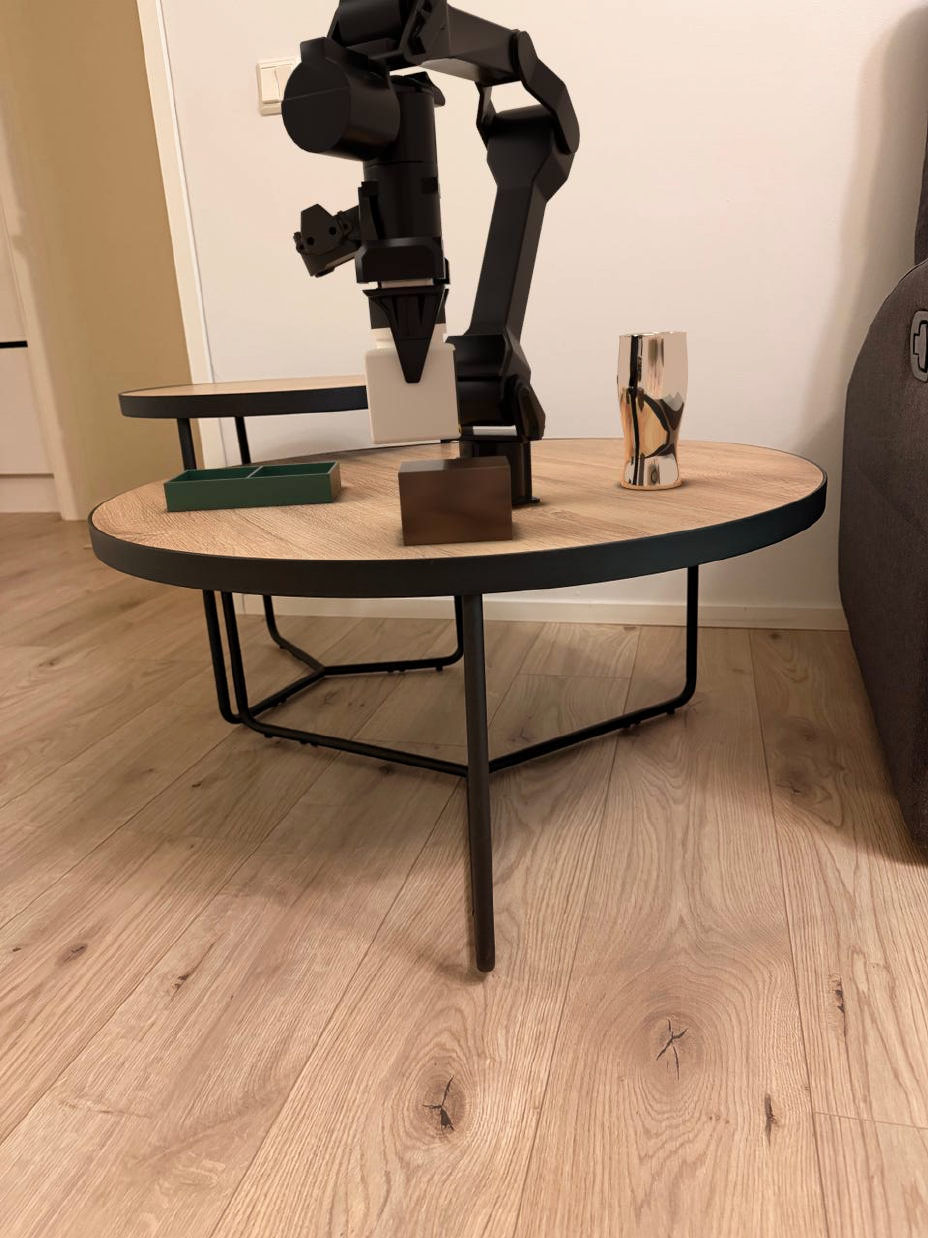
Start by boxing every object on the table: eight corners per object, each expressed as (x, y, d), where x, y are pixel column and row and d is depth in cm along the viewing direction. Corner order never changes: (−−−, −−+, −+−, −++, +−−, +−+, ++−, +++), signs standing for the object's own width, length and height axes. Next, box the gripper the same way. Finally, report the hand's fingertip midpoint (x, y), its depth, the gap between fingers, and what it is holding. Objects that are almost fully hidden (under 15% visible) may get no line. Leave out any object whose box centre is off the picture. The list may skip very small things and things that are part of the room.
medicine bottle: (461, 438, 73) (449, 277, 69) (371, 445, 73) (355, 284, 69) (460, 429, 80) (449, 282, 76) (378, 435, 80) (363, 288, 76)
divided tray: (341, 487, 104) (339, 461, 103) (332, 502, 96) (329, 473, 95) (189, 496, 104) (185, 470, 103) (167, 511, 96) (163, 483, 95)
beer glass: (609, 481, 98) (608, 334, 93) (672, 476, 99) (675, 330, 94) (627, 492, 91) (627, 335, 87) (695, 487, 92) (699, 331, 87)
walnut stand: (508, 523, 81) (506, 455, 79) (512, 539, 75) (510, 466, 73) (407, 529, 81) (401, 461, 79) (403, 545, 75) (397, 472, 73)
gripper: (315, 190, 79) (334, 377, 84) (269, 155, 61) (296, 395, 66) (444, 182, 79) (455, 370, 84) (435, 144, 61) (450, 386, 66)
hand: (415, 379), depth 75 cm, fingers closed on medicine bottle, 7 cm apart
